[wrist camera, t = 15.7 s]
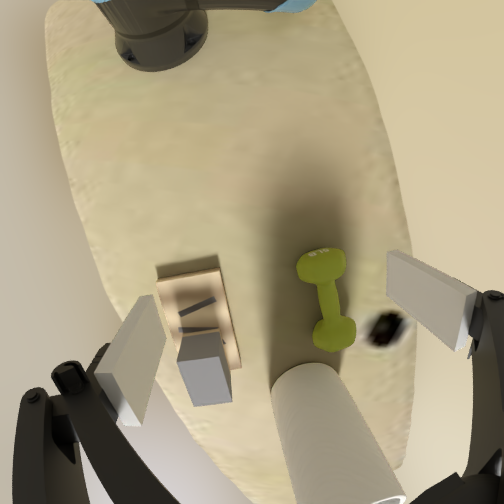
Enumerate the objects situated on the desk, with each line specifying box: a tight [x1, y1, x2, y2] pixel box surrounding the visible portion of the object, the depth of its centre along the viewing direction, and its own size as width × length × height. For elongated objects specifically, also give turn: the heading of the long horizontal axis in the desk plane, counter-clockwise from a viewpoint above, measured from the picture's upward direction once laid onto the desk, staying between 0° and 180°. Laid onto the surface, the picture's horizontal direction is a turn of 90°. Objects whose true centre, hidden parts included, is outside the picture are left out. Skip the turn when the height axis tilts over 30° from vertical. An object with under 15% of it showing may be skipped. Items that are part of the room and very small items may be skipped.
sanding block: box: [177, 328, 232, 407], centre depth 41 cm, size 9×6×8 cm, turn 9°
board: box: [156, 267, 242, 370], centre depth 44 cm, size 18×10×2 cm, turn 10°
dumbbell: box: [296, 248, 356, 352], centre depth 43 cm, size 16×8×7 cm, turn 15°
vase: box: [271, 363, 406, 504], centre depth 36 cm, size 14×14×32 cm
